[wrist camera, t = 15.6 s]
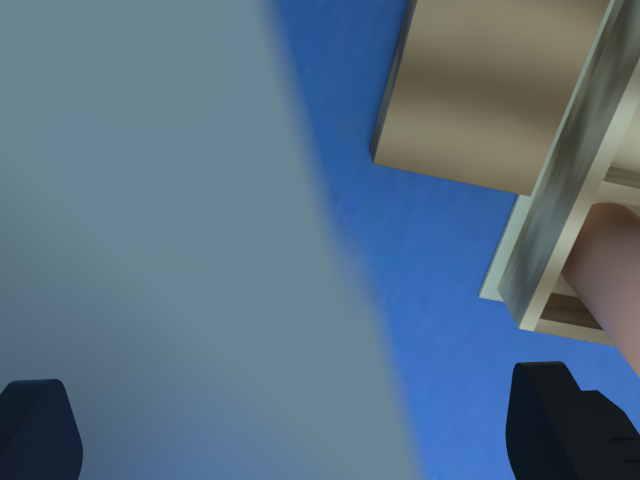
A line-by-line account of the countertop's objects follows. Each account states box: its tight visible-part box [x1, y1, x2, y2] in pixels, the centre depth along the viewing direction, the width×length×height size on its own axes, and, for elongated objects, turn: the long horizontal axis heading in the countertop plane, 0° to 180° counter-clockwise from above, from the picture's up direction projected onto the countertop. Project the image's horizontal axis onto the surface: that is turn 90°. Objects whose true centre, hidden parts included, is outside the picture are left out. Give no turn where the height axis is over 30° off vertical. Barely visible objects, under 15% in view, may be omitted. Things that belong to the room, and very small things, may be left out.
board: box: [369, 0, 610, 196], centre depth 34 cm, size 12×10×3 cm
